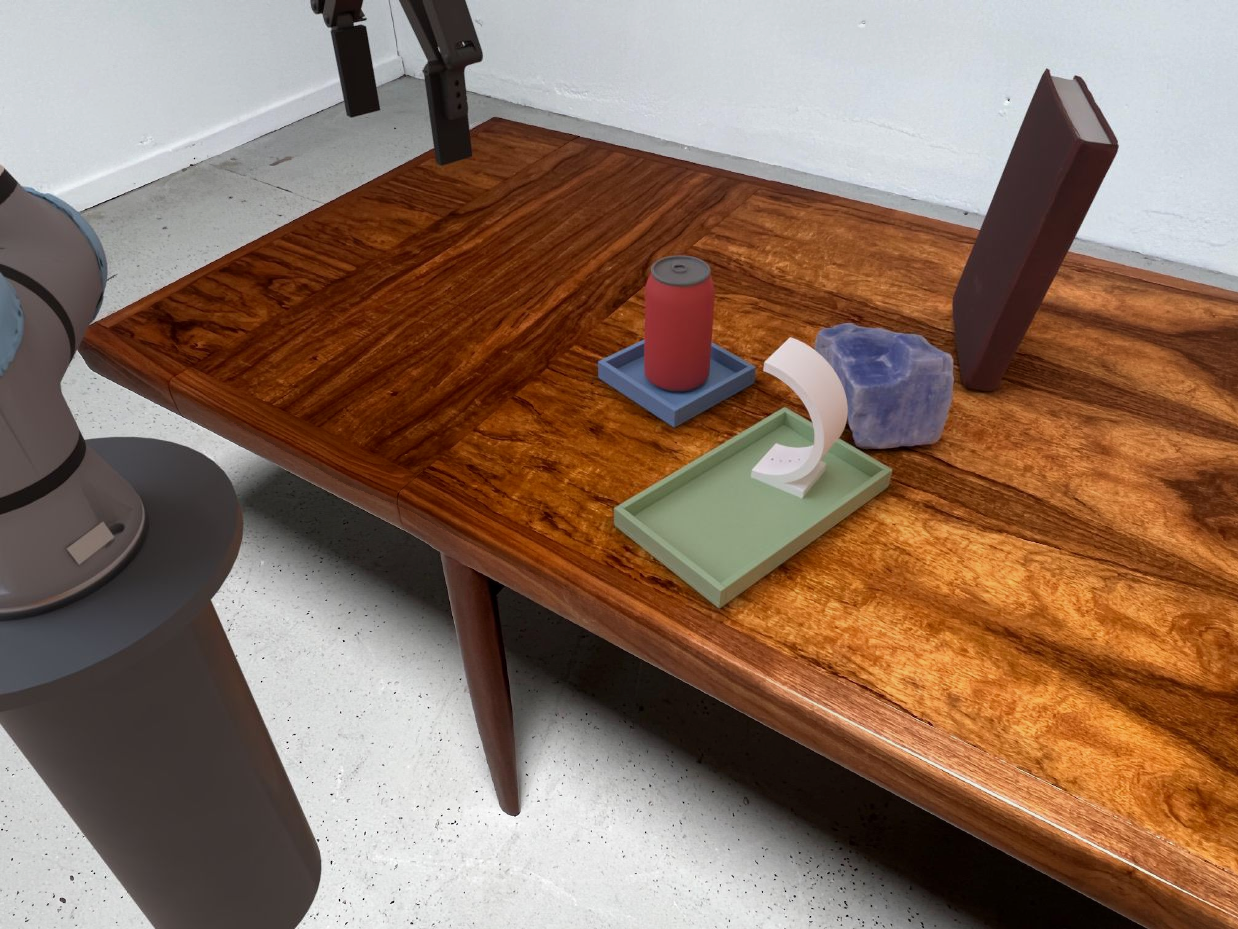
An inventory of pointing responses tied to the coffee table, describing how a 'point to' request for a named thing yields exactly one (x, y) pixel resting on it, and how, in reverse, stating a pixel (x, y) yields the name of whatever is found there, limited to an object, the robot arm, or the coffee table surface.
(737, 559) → the green tray
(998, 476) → the coffee table surface
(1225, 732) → the coffee table surface
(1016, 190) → the book
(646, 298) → the beer can
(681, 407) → the blue tray
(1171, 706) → the coffee table surface
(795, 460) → the headphone stand
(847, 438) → the coffee table surface
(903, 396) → the mineral
